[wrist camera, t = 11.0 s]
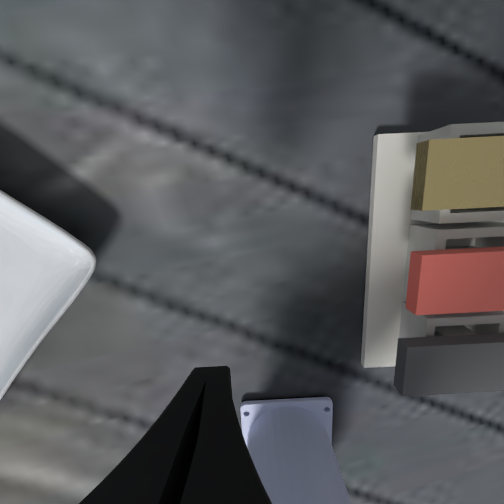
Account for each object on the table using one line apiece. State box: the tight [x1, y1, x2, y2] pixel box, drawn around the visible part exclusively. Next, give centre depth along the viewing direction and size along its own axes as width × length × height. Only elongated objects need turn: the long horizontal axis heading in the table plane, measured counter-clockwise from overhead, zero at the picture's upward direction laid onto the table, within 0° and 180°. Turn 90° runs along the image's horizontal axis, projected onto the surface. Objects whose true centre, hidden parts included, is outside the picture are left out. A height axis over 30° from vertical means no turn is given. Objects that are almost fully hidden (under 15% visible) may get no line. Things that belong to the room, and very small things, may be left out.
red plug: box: [405, 246, 504, 315], centre depth 16 cm, size 4×10×4 cm, turn 93°
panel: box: [361, 122, 504, 368], centre depth 18 cm, size 18×11×3 cm, turn 3°
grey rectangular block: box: [394, 325, 504, 396], centre depth 18 cm, size 4×10×4 cm, turn 93°
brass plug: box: [411, 136, 504, 211], centre depth 15 cm, size 4×10×4 cm, turn 93°
